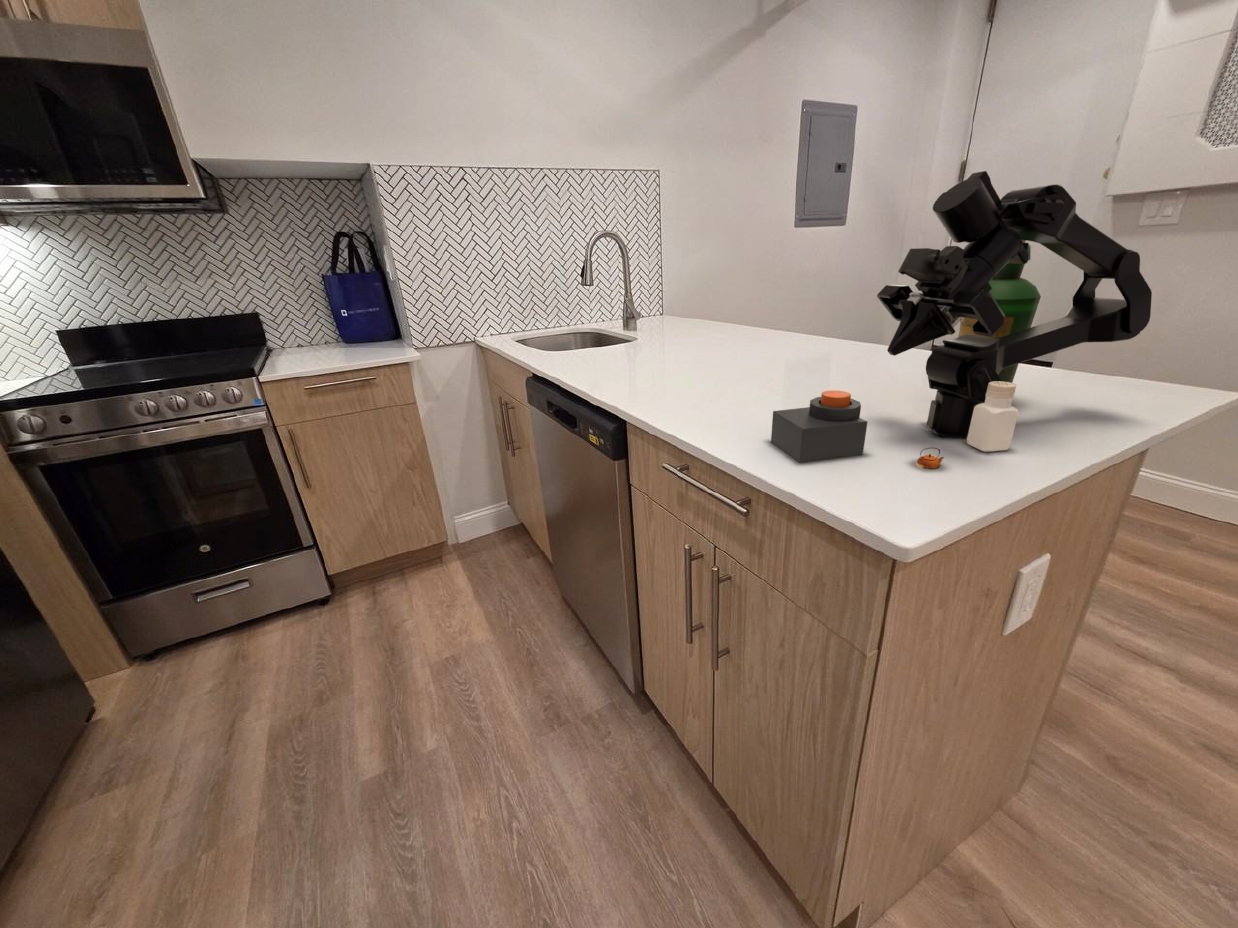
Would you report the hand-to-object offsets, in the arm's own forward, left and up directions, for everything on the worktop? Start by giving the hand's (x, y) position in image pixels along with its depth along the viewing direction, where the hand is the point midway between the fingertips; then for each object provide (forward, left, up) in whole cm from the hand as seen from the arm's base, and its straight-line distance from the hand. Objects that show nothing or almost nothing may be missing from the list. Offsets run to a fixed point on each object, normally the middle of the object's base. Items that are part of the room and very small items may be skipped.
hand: (890, 353), depth 73 cm
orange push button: (+7, +3, -7) cm, 11 cm away
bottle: (-21, -23, -14) cm, 34 cm away
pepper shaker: (-14, +1, -14) cm, 20 cm away
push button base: (+10, +4, -14) cm, 17 cm away
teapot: (-5, +9, -14) cm, 17 cm away
